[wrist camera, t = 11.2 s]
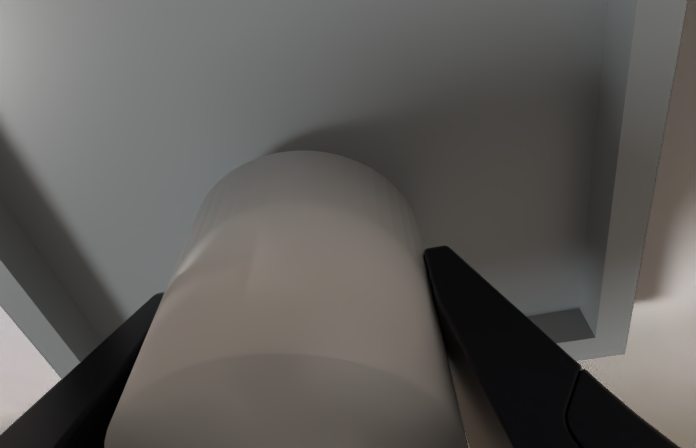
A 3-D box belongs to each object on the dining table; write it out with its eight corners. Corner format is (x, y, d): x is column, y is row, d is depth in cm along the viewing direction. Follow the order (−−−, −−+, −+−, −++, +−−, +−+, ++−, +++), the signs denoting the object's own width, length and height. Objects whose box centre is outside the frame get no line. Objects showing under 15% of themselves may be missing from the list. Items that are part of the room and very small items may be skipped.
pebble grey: (431, 313, 11) (477, 533, 7) (236, 342, 11) (188, 564, 8) (404, 128, 8) (454, 322, 5) (155, 176, 9) (27, 386, 5)
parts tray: (598, 309, 12) (624, 354, 11) (121, 380, 14) (102, 426, 13) (741, -854, 4) (885, -1118, 3) (-458, -412, 6) (-663, -486, 4)
